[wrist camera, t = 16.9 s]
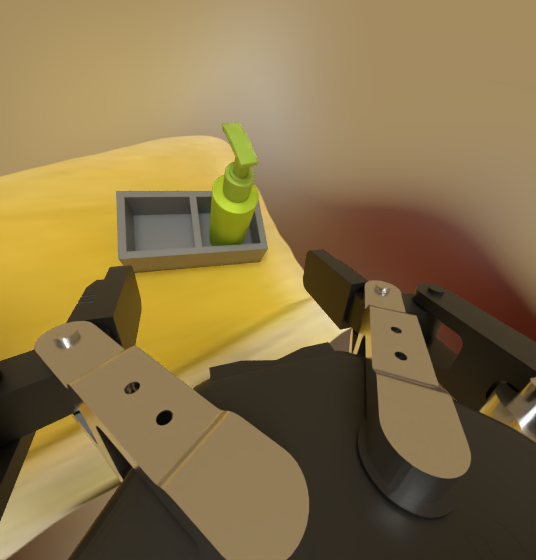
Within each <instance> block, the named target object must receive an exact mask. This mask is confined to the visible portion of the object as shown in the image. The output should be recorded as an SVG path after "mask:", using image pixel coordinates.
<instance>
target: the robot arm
mask: <svg viewBox="0 0 536 560" xmlns="http://www.w3.org/2000/svg"><path fill="white" fill-rule="evenodd" d="M303 284H304V287H305V289H306V291H307V292H308V293H309V294H310V295H311V296H312V298H313V299H314V300H315V301H316V302H317V303H318V304H319V306H320V307H321V308H322V309H323V310H324V311H325V313H326V314H327V315H328V316H329V317H330V318H331V320H332V321H333V322H334V323H335V324H336V325H337V327H338V328H339V329H345V328H350V327H352V332H351V336H350V351H349V352H344V351H334V349H333V348H332V347H331V345H330V344H329V343H328V342H327V343H322V344H318V345H313V346H308V347H304V348H301V349H299V350H297V351H295V352H293V353H290V354H288V355H286V356H284V357H282V358H280V359H278V360H264V361H238V362H234V363H229V364H225V365H220V366H215V367H211V368H210V379H208V380H206V381H204V382H202V383H201V384H199V385H197V386H196V387H194V388H193V389H192V388H190V387H189V386H188V385H187V384H185V383H184V382H183V381H181V380H180V379H179V378H178V377H176V376H175V375H174V374H172V373H171V372H170V371H168V370H167V369H166V368H165V367H163V366H162V365H161V364H159V363H158V362H157V361H155V360H154V359H153V358H152V357H150V356H149V355H148V354H146V353H145V352H144V351H142V350H141V349H140V348H138V347H137V346H135V343H136V338H137V332H138V327H139V321H140V316H141V298H140V294H139V290H138V286H137V282H136V278H135V273H134V270H133V267H132V266H131V265H128V266H116V267H110V268H109V270H108V272H107V275H106V277H105V279H104V280H96V281H95V282H93V283H92V284H91V285H89V286H88V287H87V288H86V289H85V291H84V293H83V295H82V297H81V298H80V300H79V302H78V304H77V305H76V307H75V309H74V310H73V312H72V314H71V315H70V317H69V319H68V321H67V322H66V324H62V325H60V326H57V327H55V328H53V329H51V330H49V331H47V332H46V333H44V334H43V335H42V336H41V337H40V338H39V339H38V340H37V341H36V343H35V346H34V350H32V351H29V352H26V353H23V354H20V355H17V356H14V357H11V358H8V359H5V360H2V361H0V521H1V518H2V516H3V513H4V510H5V508H6V505H7V503H8V500H9V498H10V495H11V493H12V490H13V488H14V485H15V483H16V480H17V478H18V475H19V473H20V470H21V468H22V465H23V463H24V460H25V458H26V455H27V453H28V450H29V448H30V445H31V442H32V440H33V437H34V435H35V432H36V430H38V429H40V428H43V427H45V426H47V425H49V424H51V423H53V422H55V421H58V420H60V419H62V418H64V417H66V416H68V415H70V414H71V415H72V416H73V418H74V419H75V420H76V421H77V423H78V424H79V425H80V427H81V428H82V429H83V430H84V432H85V433H86V434H87V436H88V437H89V438H90V439H91V441H92V442H93V443H94V444H95V446H96V447H97V448H98V450H99V451H100V452H101V454H102V455H103V456H104V458H105V459H106V461H107V462H108V464H109V466H110V467H111V469H112V470H113V472H114V473H115V474H116V476H117V477H118V479H119V480H120V481H121V482H122V483H121V484H120V486H119V487H118V488H117V490H116V491H115V493H114V494H113V496H112V497H111V499H110V500H109V501H108V503H107V504H106V506H105V507H104V509H103V510H102V511H101V513H100V514H99V516H98V517H97V518H96V520H95V521H94V523H93V524H92V526H91V527H90V528H89V530H88V531H87V533H86V534H85V536H84V537H83V538H82V540H81V541H80V543H79V544H78V546H77V547H76V548H75V550H74V551H73V553H72V554H71V556H70V557H69V558H68V560H536V342H534V341H532V340H531V339H529V338H527V337H526V336H524V335H522V334H520V333H519V332H517V331H516V330H514V329H512V328H511V327H509V326H507V325H506V324H504V323H502V322H501V321H499V320H497V319H495V318H494V317H492V316H491V315H489V314H487V313H485V312H484V311H482V310H481V309H479V308H477V307H476V306H474V305H472V304H471V303H469V302H467V301H465V300H464V299H462V298H460V297H459V296H457V295H455V294H454V293H452V292H450V291H449V290H447V289H445V288H443V287H440V286H437V285H432V284H419V285H417V287H416V290H415V292H414V294H402V293H401V292H400V290H399V289H398V288H397V287H395V286H393V285H391V284H389V283H386V282H383V281H368V280H366V279H365V278H364V277H362V276H361V275H359V274H358V273H357V272H355V271H354V270H353V269H352V268H350V267H348V266H347V265H346V264H344V263H343V262H342V261H340V260H337V259H336V258H334V257H333V256H332V255H330V254H329V253H327V252H326V251H325V250H323V249H322V250H310V251H308V252H307V255H306V261H305V268H304V275H303ZM442 323H444V324H445V325H446V326H448V327H449V328H451V329H452V330H453V331H455V332H456V333H457V334H458V335H459V336H460V337H461V339H462V341H463V347H462V349H461V351H460V353H459V354H458V355H457V354H455V353H454V352H453V351H452V350H450V349H449V348H448V347H447V346H445V345H444V344H443V343H442V342H441V341H439V340H438V339H437V338H436V335H437V333H438V331H439V329H440V327H441V325H442ZM438 382H439V383H440V384H441V385H442V386H443V387H444V388H445V389H446V390H447V391H448V392H449V393H450V394H451V395H452V396H453V397H454V398H455V399H456V400H457V401H456V400H454V399H452V398H451V396H450V394H449V393H448V392H447V391H445V390H443V389H441V388H440V387H439V384H438Z"/></svg>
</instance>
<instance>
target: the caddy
mask: <svg viewBox="0 0 536 560" xmlns="http://www.w3.org/2000/svg"><path fill="white" fill-rule="evenodd" d="M116 198H117V230H118V259H119V260H120V262H121V263H122V264H123V265H124V266H128V265H131V266H132V267H133V270H134V273H135V272H147V271H159V270H170V269H182V268H194V267H205V266H217V265H229V264H240V263H252V262H260V260H261V259H262V257H263V256H264V254H265V252H266V251H267V249H268V247H267V241H266V236H265V231H264V226H263V220H262V215H261V210H260V205H259V199H258V203H257V206H256V208H255V211H254V214H253V217H252V219H251V222H250V225H249V227H248V230H247V233H246V236H245V238H244V241H243V244H241V245H225V246H212V245H211V243H210V240H209V232H210V216H211V200H212V191H116Z"/></svg>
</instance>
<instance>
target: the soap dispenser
mask: <svg viewBox="0 0 536 560" xmlns="http://www.w3.org/2000/svg"><path fill="white" fill-rule="evenodd" d="M222 127H223V131H224V133H225V135H226V136H227V138H228V140H229V143H230V145H231V147H232V150H233V152H234V154H235V161H234V162H232V163H230V164H229V165H228V166H227V167H226V169H225V175H222V176H220V177H219V178H218V179H217V180H216V181H215V182H214V184H213V187H212V200H211V216H210V232H209V240H210V243H211V245H212V246H225V245H241V244H243V241H244V238H245V236H246V233H247V230H248V227H249V225H250V222H251V219H252V217H253V214H254V211H255V208H256V206H257V203H258V199H259V194H258V190H257V188H256V186H255V184H254V183H253V182H254V172H253V170H252V169H251V167H252V166H257V164H258V160H257V157H256V155H255V152H254V150H253V148H252V145H251V143H250V141H249V139H248V136H247V135H246V133H245V131H244V130H243V128H242V126H241V125H240V124H239V123H238V122H237V123H227V124H222Z"/></svg>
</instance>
